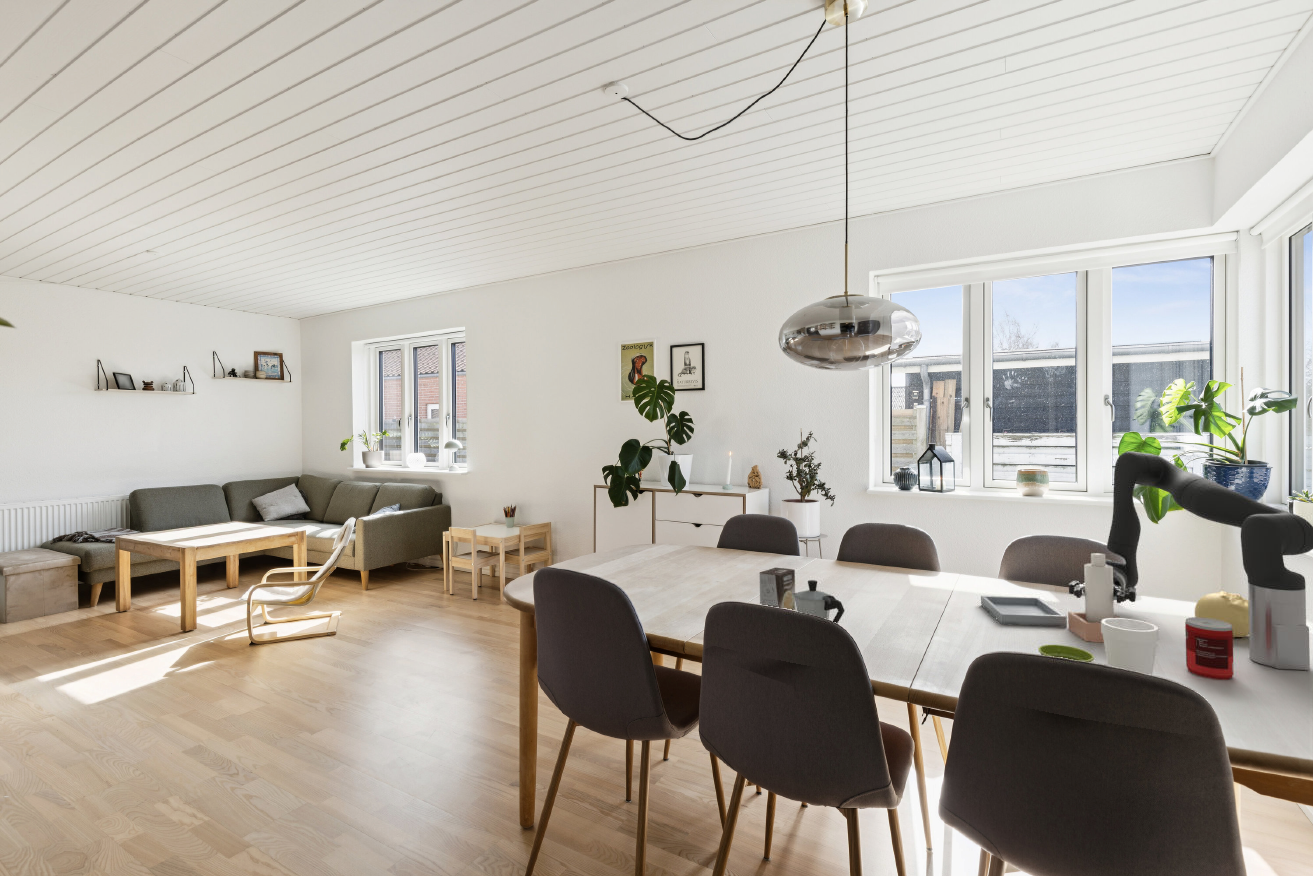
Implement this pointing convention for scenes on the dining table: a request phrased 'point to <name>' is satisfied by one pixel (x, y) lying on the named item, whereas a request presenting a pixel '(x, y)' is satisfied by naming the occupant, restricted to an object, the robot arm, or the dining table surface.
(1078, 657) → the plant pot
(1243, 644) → the dining table surface
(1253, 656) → the robot arm
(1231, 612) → the sculpture
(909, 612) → the dining table surface
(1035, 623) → the tray
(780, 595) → the coffee box
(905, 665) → the dining table surface
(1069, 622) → the holder
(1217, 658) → the canned food
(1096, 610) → the bottle
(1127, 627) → the foam cup
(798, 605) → the coffee maker
